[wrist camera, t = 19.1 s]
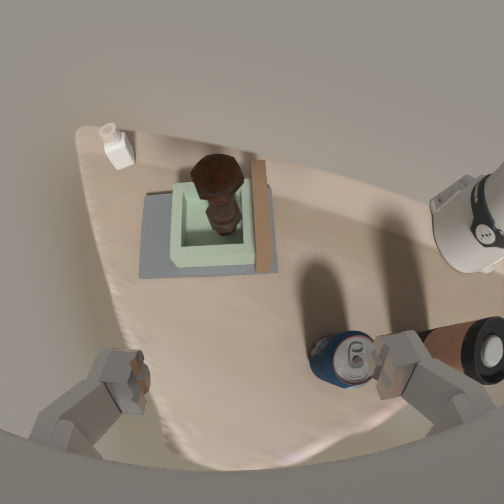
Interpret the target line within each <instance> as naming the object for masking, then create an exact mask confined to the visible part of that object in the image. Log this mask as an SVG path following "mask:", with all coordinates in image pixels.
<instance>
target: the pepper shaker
mask: <svg viewBox="0 0 504 504" xmlns="http://www.w3.org/2000/svg"><path fill="white" fill-rule="evenodd" d="M99 134H100V136H101V138H102V140H103V141H104V150H105V153H106V154H107V156H108V158H109V159H110V161H111V162H112V164H113V165H114V167H115V168H116V169H117V170H120V169H123V168H126V167H128V166H131V165H134V163H135V158H134V149H133V148H132V146H131V144H130V142H129V140H128V138H127V136H126V134H125V132H123V131H119V130H118V128H117V126H116V124H115V123H107V124H106V125H104V126H103V127H102V128H101V129H100V132H99Z"/></svg>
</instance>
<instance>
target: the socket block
mask: <svg viewBox="0 0 504 504" xmlns="http://www.w3.org/2000/svg"><path fill="white" fill-rule="evenodd" d="M234 199H235V200H236V202H237V204H238V206H239V208H240V211H241V213H242V219H241V221H240V222H239V224H238V225H237V228H236V230H235V231H234V232H233V233H231V234H229V235H225V236H222V235H220V234H219V233H217V231H215V230H212V227H211V225H210V223H209V220H208V218H207V215H206V212H205V211H206V209H207V208H208V206H209V204H208V200H200V198H199V196H198V193H197V190H196V188H195V185H194V183H193V182H186V183H174V184H173V198H172V215H171V237H170V259H171V260H172V261H173V262H174V264H175V265H176V266H177V267H178V268H183V267H205V266H226V265H247V264H255V258H256V250H255V234H254V217H253V201H252V185H251V178H250V179H244V184H243V185H242V186H241V187H240V188H239V189H238V190H237V192H236V193H235V194H234Z"/></svg>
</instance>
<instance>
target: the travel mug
mask: <svg viewBox="0 0 504 504" xmlns="http://www.w3.org/2000/svg"><path fill="white" fill-rule="evenodd" d="M417 334H418V336H419V337H420V339H421V341H422V342H423V344H424V345H425V347H426V349H427V350H428V352H429V353H430V355H431V357H432V358H433V359H438V360H440V361H442V362H443V363H445V364H447V365H449V366H450V367H452V368H454V369H456V370H457V371H459V372H461V373H463V374H464V375H466V376H468V377H470V378H471V379H473V380H475V381H477V382H479V383H480V384H482V385H492V384H497V383H499V382H500V381H502V380H503V379H504V318H502V317H497V316H496V317H489V318H485V319H480V320H475V321H471V322H466V323H460V324H455V325H450V326H444V327H439V328H435V329H431V330H427V331H423V332H418V333H417Z"/></svg>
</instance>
